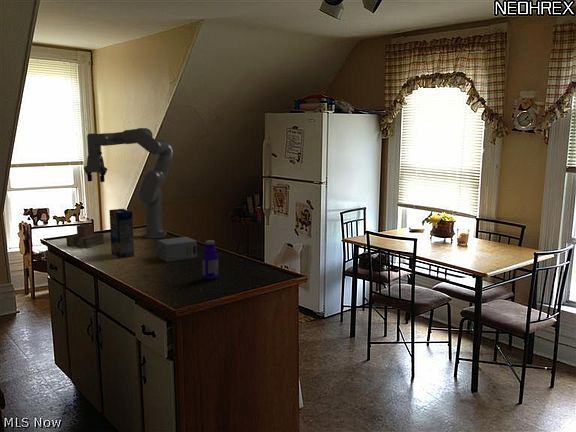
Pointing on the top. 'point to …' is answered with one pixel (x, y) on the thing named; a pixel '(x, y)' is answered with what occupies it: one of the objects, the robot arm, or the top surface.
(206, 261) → the bottle
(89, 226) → the terracotta cube
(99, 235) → the grey flat block
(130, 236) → the juice carton
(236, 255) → the top surface
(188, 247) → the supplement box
